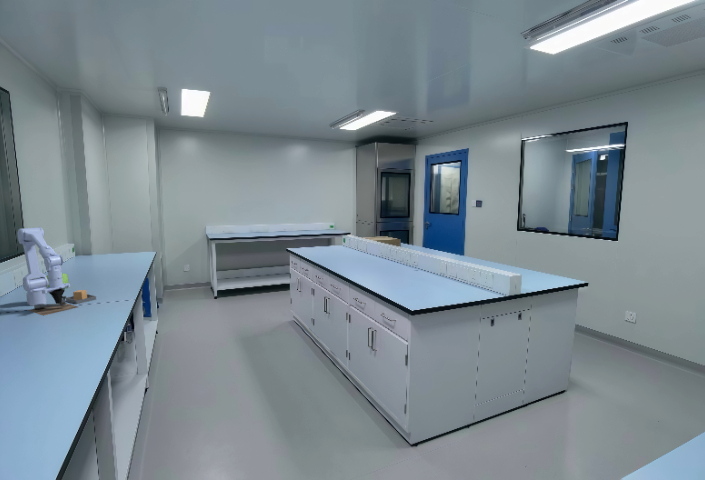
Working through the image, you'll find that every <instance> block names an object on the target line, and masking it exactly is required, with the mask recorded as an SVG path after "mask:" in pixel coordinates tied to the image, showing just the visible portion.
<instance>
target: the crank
mask: <svg viewBox="0 0 705 480" xmlns="http://www.w3.org/2000/svg"><path fill="white" fill-rule="evenodd" d="M66 298H67V296H66V295H62V298H61V303H60V304H56V303H46V304H36V305H34V306H33V309H35V310H40V309H44V307H58V306H65V305H66Z"/></svg>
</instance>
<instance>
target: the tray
mask: <svg viewBox="0 0 705 480" xmlns="http://www.w3.org/2000/svg"><path fill="white" fill-rule="evenodd" d="M96 300H97V296H96V295H93V294H88V293H87V298H85V299H80V300H74V296H73V295H72V296H68V297H67V296H66V299H65V302H68V303H70V304H71V303H72V304H75V305H79V304H84V303H87V302H92V301H96Z"/></svg>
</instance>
